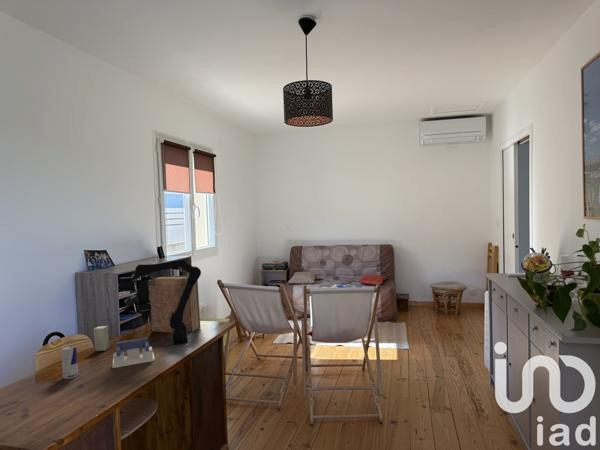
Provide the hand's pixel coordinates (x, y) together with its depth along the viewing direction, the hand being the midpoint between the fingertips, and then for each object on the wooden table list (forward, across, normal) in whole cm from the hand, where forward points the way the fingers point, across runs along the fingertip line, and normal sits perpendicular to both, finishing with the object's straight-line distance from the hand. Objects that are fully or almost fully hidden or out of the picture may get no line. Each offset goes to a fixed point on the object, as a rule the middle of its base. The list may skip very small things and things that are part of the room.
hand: (144, 321), depth 200 cm
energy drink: (+13, +23, -30) cm, 40 cm away
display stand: (+13, +17, -6) cm, 22 cm away
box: (+13, -10, -20) cm, 26 cm away
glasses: (+8, +18, -6) cm, 21 cm away
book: (+13, -24, +17) cm, 32 cm away
